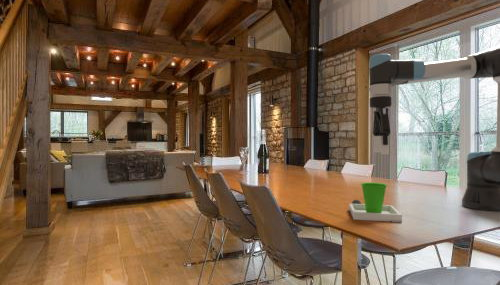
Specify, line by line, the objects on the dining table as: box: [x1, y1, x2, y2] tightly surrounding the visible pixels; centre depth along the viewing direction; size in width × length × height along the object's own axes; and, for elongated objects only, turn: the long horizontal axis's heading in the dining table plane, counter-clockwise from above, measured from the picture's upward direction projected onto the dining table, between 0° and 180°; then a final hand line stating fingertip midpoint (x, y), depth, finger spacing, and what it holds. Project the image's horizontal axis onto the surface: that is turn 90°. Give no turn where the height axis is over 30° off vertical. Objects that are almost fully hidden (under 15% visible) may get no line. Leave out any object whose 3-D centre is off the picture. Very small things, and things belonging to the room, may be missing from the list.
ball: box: [351, 199, 362, 204], centre depth 133 cm, size 4×4×4 cm
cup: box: [360, 182, 388, 213], centre depth 121 cm, size 9×9×11 cm
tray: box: [348, 203, 403, 223], centre depth 121 cm, size 16×16×2 cm
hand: (381, 153), depth 122 cm, fingers open, 13 cm apart
